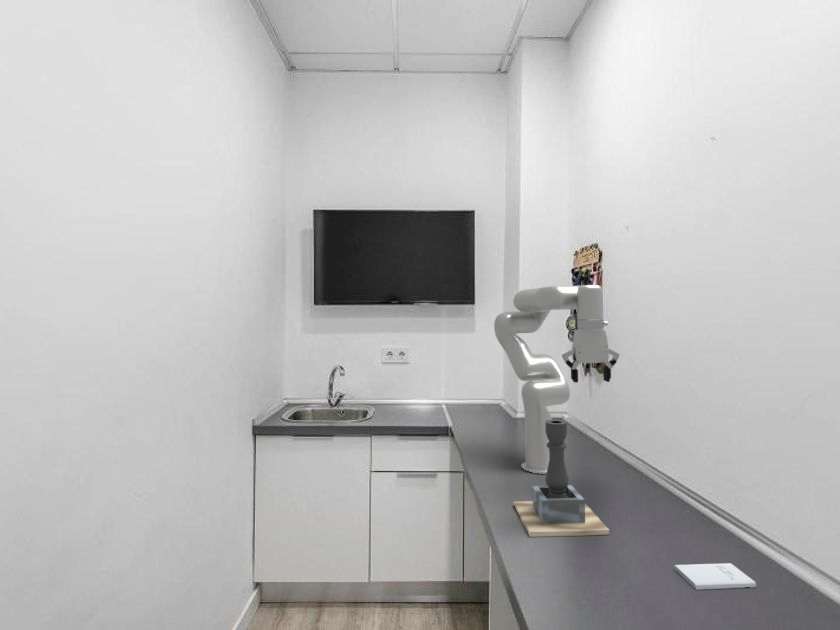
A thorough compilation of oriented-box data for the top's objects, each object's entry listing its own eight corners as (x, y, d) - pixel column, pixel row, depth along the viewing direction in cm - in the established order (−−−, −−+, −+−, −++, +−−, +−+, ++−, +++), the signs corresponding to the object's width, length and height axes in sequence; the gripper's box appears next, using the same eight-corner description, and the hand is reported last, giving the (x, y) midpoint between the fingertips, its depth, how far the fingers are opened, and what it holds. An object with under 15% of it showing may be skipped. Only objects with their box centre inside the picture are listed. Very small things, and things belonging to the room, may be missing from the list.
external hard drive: (673, 571, 109) (729, 569, 109) (695, 592, 101) (756, 589, 101) (673, 564, 109) (729, 561, 109) (695, 584, 101) (756, 581, 101)
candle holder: (553, 520, 132) (551, 425, 132) (541, 511, 138) (540, 420, 138) (574, 517, 133) (572, 423, 133) (561, 508, 139) (560, 418, 139)
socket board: (513, 505, 145) (513, 480, 145) (582, 504, 146) (581, 479, 146) (529, 536, 125) (529, 508, 125) (609, 534, 126) (608, 506, 126)
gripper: (613, 324, 157) (614, 379, 157) (558, 325, 157) (559, 380, 157) (623, 325, 150) (624, 382, 150) (565, 326, 149) (566, 384, 150)
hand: (591, 381), depth 153 cm, fingers open, 9 cm apart
